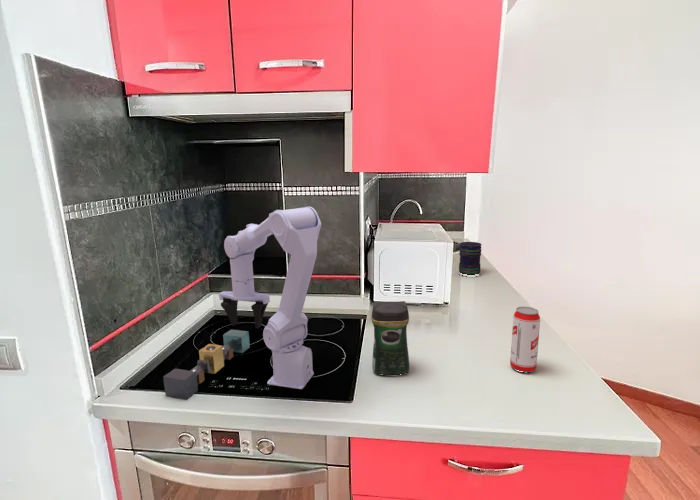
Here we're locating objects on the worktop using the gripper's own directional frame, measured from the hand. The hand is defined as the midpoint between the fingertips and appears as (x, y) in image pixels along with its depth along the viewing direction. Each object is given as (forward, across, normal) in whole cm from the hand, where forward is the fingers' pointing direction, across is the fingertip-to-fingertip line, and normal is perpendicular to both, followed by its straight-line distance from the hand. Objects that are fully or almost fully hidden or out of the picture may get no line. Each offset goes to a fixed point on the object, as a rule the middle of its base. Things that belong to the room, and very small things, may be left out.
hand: (246, 325), depth 111 cm
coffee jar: (+10, -40, -3) cm, 41 cm away
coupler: (+10, +6, +8) cm, 14 cm away
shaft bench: (+9, +6, +8) cm, 14 cm away
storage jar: (+10, -59, -100) cm, 117 cm away
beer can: (+10, -73, -12) cm, 75 cm away
